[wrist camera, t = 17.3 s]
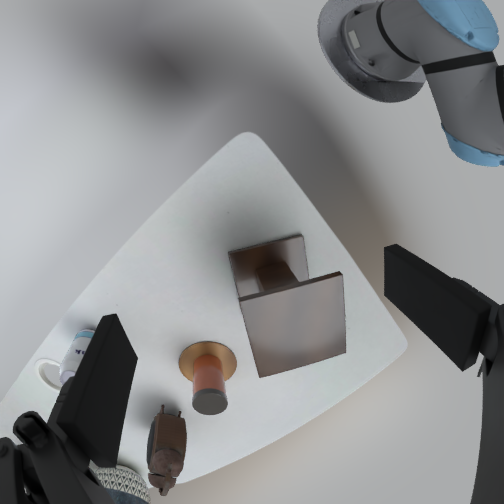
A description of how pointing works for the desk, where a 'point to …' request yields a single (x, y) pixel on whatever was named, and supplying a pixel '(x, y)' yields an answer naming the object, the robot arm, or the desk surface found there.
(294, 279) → the stand
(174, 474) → the alarm clock
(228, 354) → the coaster
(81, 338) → the beverage can
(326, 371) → the desk surface
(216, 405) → the jar
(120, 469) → the planter
